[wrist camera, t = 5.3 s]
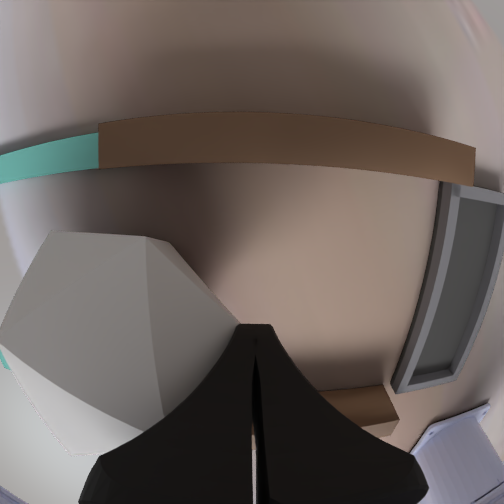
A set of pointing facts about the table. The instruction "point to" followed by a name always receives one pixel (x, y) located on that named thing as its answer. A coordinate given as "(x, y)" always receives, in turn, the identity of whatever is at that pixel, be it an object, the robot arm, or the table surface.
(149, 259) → the die
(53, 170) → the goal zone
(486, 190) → the grey flat rectangular tray
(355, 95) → the table surface
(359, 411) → the channel
